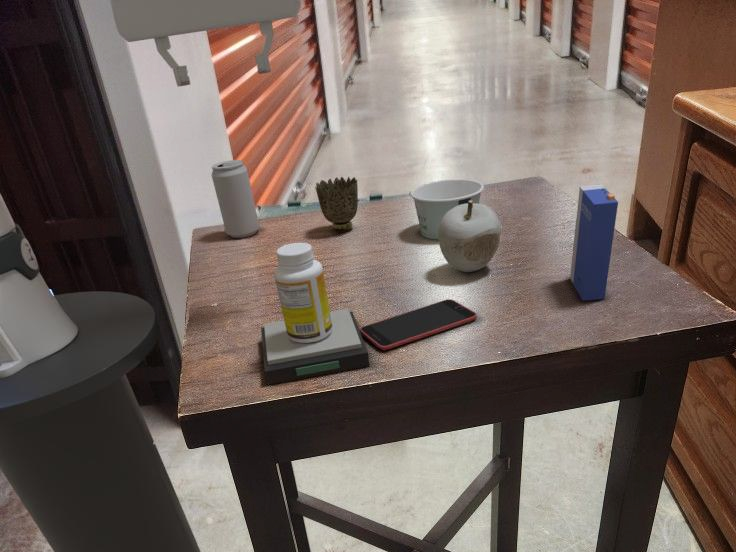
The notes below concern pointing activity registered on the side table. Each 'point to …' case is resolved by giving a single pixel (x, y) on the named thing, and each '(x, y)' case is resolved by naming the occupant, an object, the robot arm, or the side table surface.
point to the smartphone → (417, 324)
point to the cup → (338, 202)
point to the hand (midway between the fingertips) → (224, 79)
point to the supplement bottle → (302, 293)
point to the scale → (313, 350)
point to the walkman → (593, 241)
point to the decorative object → (469, 236)
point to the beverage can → (235, 198)
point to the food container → (442, 201)
